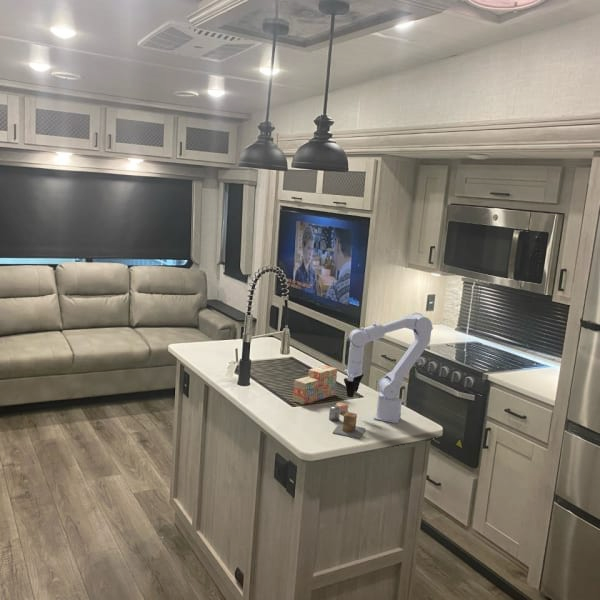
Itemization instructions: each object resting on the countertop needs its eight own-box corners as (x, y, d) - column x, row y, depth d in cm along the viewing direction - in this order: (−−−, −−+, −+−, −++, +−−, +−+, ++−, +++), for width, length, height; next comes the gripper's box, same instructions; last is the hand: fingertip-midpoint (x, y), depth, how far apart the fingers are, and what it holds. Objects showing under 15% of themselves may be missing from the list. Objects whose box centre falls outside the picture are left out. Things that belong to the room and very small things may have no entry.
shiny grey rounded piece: (340, 418, 234) (341, 406, 233) (337, 422, 230) (339, 409, 229) (330, 417, 235) (331, 404, 234) (327, 420, 231) (328, 408, 230)
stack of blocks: (303, 405, 246) (306, 376, 244) (292, 401, 250) (294, 372, 248) (335, 395, 262) (337, 368, 260) (323, 391, 266) (326, 364, 264)
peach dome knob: (348, 410, 244) (349, 403, 243) (346, 414, 239) (346, 407, 239) (337, 408, 245) (337, 401, 245) (334, 412, 241) (334, 405, 240)
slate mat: (365, 429, 225) (365, 428, 225) (359, 438, 216) (359, 437, 215) (339, 424, 228) (339, 423, 228) (332, 433, 218) (332, 432, 218)
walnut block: (355, 429, 223) (356, 413, 222) (353, 432, 219) (354, 417, 218) (344, 427, 224) (346, 411, 223) (342, 430, 220) (343, 415, 219)
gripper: (349, 354, 241) (346, 387, 243) (341, 363, 227) (337, 397, 229) (366, 357, 239) (363, 390, 241) (359, 366, 225) (356, 400, 227)
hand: (352, 394), depth 235 cm, fingers open, 7 cm apart
